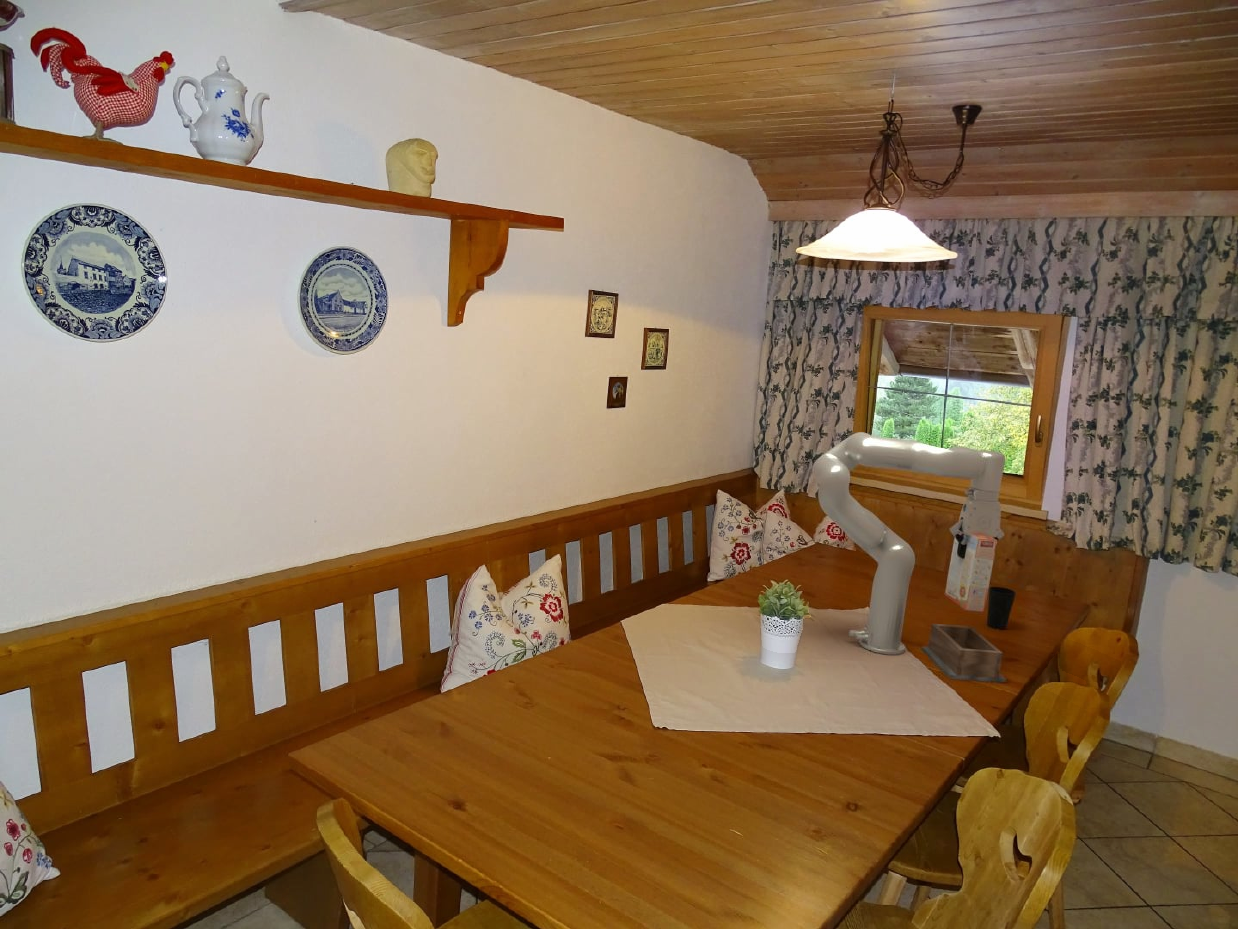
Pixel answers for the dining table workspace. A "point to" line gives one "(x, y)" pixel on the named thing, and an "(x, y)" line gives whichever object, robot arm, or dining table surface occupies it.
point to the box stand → (964, 653)
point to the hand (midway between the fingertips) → (972, 557)
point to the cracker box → (971, 573)
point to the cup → (999, 607)
